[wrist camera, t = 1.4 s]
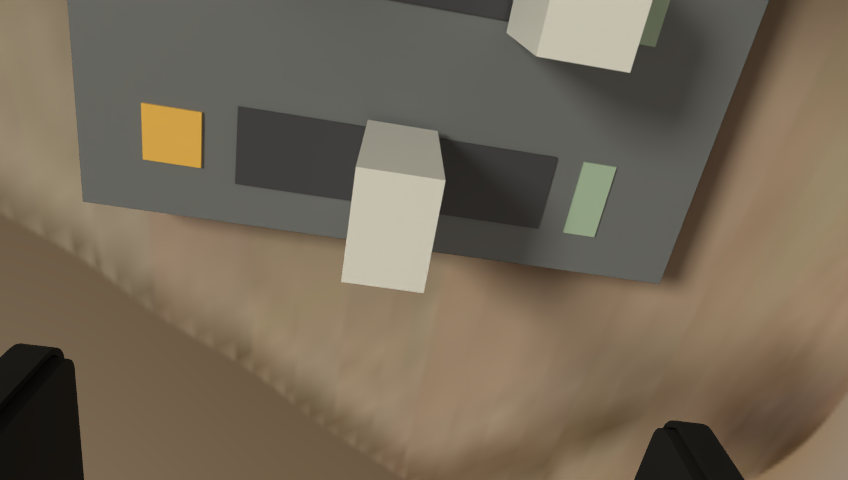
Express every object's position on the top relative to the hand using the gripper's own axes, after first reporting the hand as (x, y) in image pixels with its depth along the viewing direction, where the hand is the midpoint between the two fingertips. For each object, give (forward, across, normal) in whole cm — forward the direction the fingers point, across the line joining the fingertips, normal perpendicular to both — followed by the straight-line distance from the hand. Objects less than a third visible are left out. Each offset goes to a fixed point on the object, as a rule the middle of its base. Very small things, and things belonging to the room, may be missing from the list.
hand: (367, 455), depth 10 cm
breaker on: (+13, -4, -8) cm, 15 cm away
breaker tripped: (+13, 0, -1) cm, 13 cm away
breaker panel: (+16, 0, -4) cm, 17 cm away
